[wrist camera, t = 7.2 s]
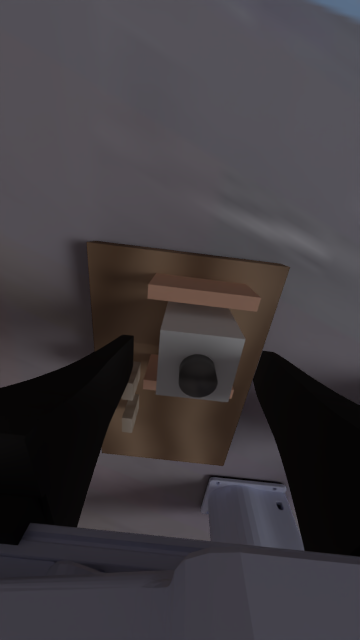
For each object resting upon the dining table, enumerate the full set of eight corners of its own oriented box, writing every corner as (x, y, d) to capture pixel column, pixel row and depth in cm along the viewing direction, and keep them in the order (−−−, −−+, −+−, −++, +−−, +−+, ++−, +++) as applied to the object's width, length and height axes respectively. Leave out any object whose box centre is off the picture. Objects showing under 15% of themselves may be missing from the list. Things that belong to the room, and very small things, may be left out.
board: (280, 263, 14) (312, 275, 10) (221, 451, 23) (227, 494, 19) (96, 240, 14) (64, 244, 10) (107, 439, 22) (91, 479, 19)
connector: (226, 303, 14) (251, 350, 8) (216, 351, 15) (231, 417, 10) (169, 297, 14) (157, 340, 8) (164, 346, 15) (152, 409, 10)
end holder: (245, 283, 13) (261, 298, 11) (223, 370, 16) (231, 398, 13) (156, 273, 13) (148, 284, 10) (150, 362, 16) (143, 389, 13)
